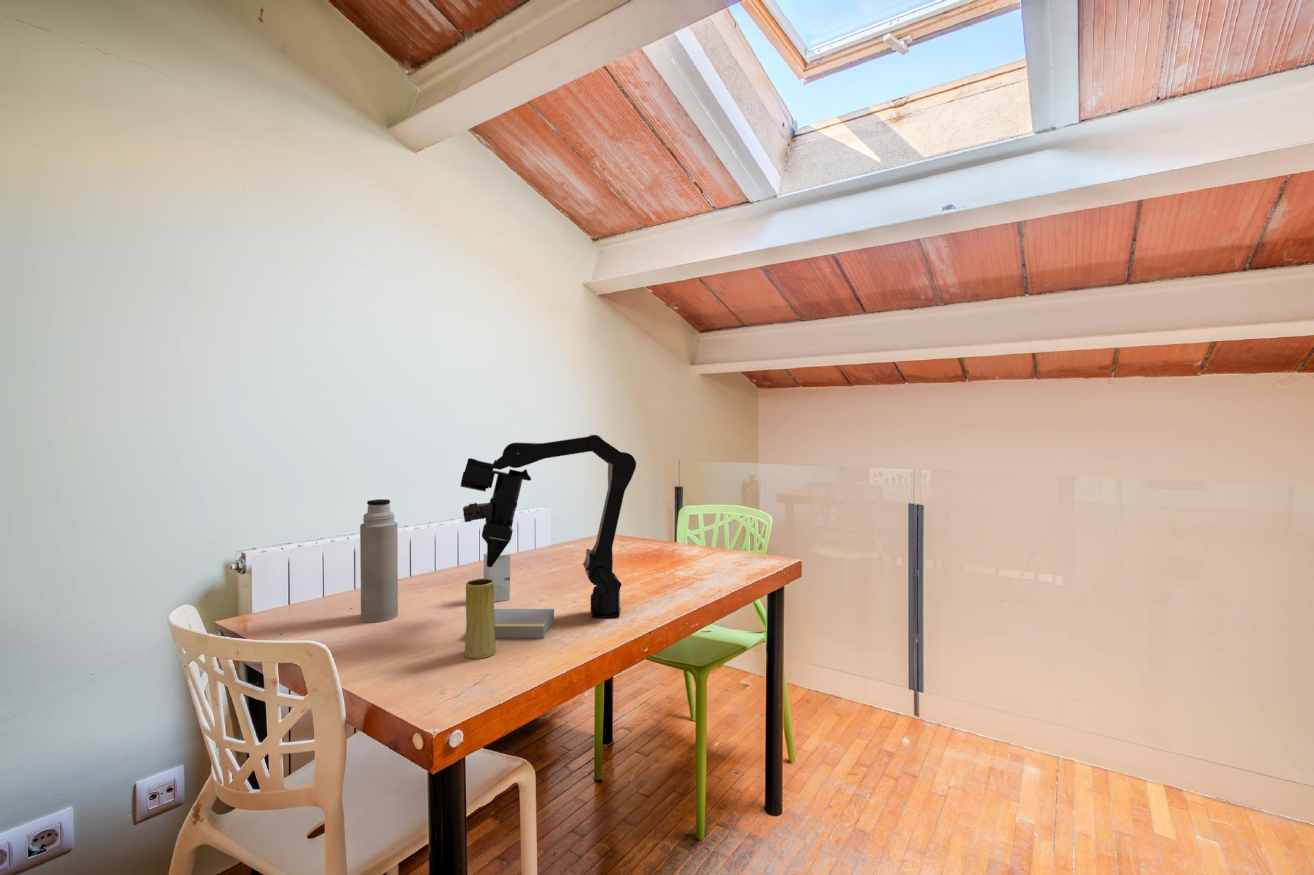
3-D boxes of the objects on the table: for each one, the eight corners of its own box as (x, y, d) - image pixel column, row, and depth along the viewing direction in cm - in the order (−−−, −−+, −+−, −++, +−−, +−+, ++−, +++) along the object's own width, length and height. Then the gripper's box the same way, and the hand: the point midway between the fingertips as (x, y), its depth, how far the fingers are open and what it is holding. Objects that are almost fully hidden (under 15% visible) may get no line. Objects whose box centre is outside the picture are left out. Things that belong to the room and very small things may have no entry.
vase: (468, 647, 115) (468, 578, 114) (499, 646, 115) (498, 577, 115) (460, 660, 109) (460, 586, 108) (492, 658, 109) (492, 585, 109)
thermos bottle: (382, 609, 139) (381, 497, 139) (405, 614, 136) (404, 498, 136) (353, 619, 132) (352, 500, 132) (376, 624, 129) (375, 502, 128)
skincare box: (487, 603, 144) (487, 556, 144) (482, 599, 148) (482, 553, 148) (511, 599, 148) (511, 553, 148) (505, 595, 151) (505, 550, 151)
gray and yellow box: (554, 619, 132) (554, 608, 132) (543, 638, 120) (543, 625, 120) (486, 619, 132) (485, 608, 132) (468, 638, 120) (468, 625, 120)
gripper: (473, 484, 137) (458, 547, 136) (466, 493, 119) (449, 565, 118) (519, 494, 140) (504, 555, 139) (519, 503, 121) (502, 574, 121)
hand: (490, 562), depth 129 cm, fingers open, 9 cm apart
